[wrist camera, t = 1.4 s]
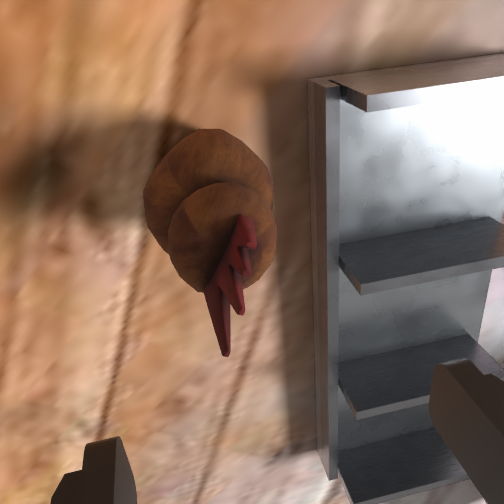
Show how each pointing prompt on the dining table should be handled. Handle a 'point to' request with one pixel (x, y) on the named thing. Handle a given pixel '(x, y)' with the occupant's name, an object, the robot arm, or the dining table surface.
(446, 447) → the grey shelf
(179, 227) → the wooden figurine
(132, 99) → the dining table surface
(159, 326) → the dining table surface
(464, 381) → the robot arm
